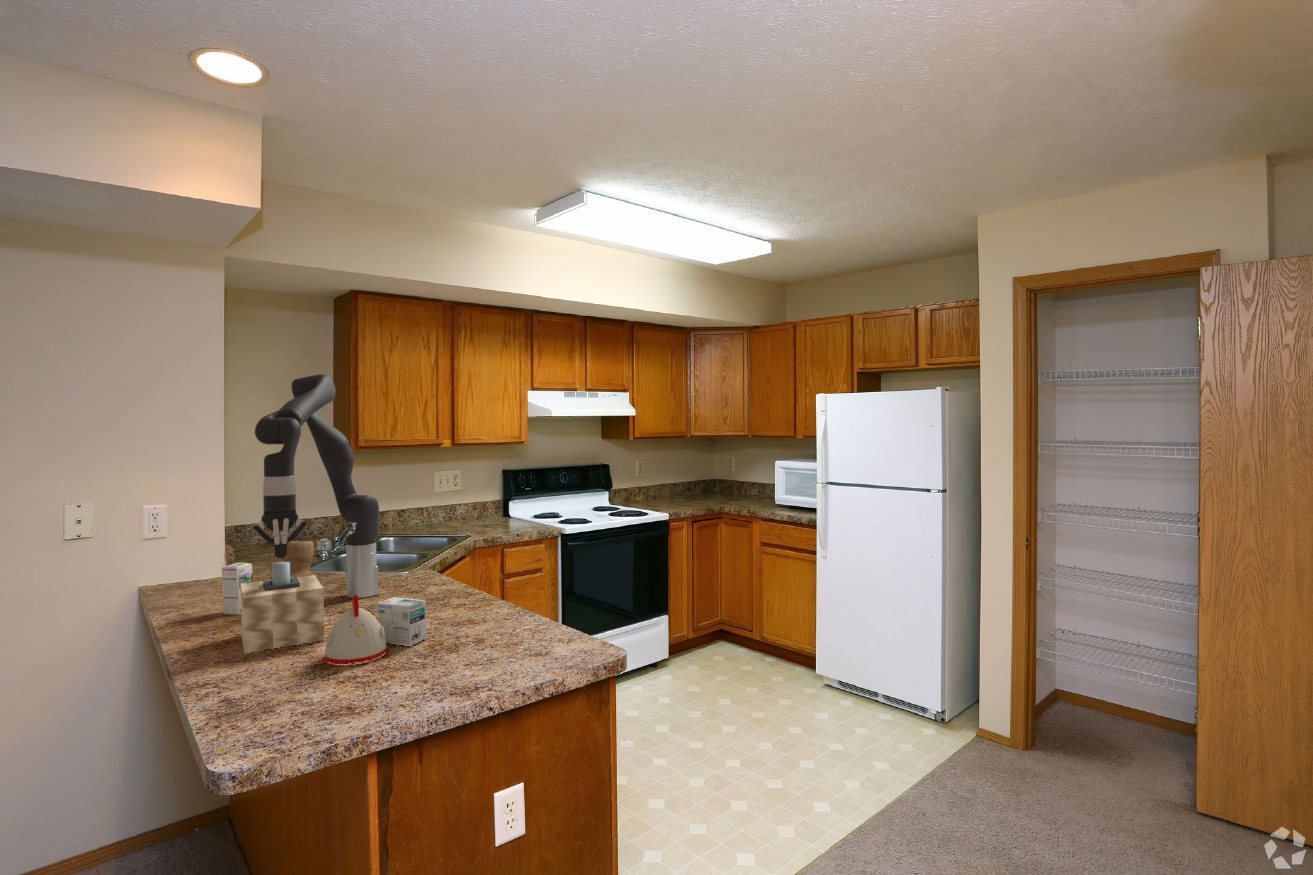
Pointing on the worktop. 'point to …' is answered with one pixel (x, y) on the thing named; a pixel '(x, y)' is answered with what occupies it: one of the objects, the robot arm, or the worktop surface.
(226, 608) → the syrup box
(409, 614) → the light bulb box
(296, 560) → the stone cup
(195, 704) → the worktop surface
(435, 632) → the worktop surface
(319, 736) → the worktop surface
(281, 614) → the birch block
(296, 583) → the rubber collar
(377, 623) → the kitchen timer
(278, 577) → the dowel
